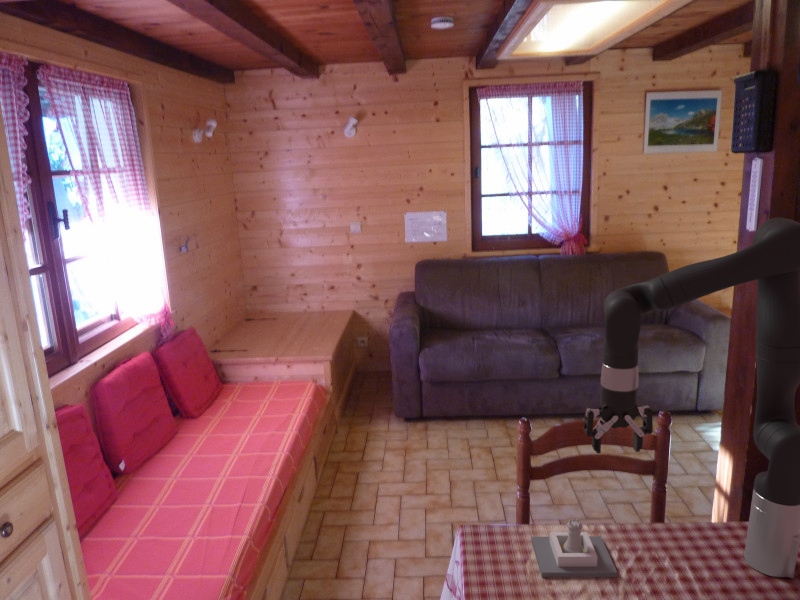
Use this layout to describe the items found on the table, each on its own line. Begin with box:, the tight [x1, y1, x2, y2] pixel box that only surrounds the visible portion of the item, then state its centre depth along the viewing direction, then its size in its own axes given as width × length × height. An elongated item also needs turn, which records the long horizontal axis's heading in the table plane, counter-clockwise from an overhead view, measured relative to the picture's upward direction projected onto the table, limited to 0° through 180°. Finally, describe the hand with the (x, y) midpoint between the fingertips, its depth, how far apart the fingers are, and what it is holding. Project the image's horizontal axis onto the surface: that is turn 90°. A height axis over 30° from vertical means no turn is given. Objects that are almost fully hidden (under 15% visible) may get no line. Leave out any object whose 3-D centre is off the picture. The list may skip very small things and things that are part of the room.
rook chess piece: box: [563, 518, 584, 553], centre depth 131 cm, size 4×4×8 cm
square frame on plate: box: [530, 531, 618, 578], centre depth 132 cm, size 16×12×4 cm
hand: (616, 451), depth 131 cm, fingers open, 8 cm apart
